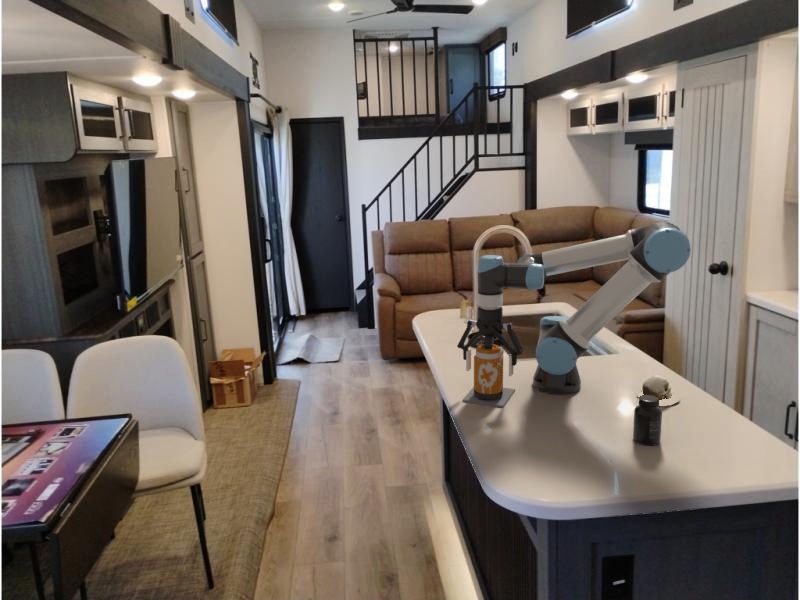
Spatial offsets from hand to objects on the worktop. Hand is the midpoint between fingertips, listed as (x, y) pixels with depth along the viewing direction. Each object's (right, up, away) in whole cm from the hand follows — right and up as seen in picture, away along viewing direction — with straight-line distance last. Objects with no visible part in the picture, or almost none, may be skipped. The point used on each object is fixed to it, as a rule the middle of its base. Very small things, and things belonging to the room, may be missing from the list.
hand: (489, 372), depth 196 cm
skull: (+51, -8, -3) cm, 52 cm away
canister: (0, -7, +2) cm, 8 cm away
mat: (0, -8, +2) cm, 8 cm away
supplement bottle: (+37, -15, -29) cm, 50 cm away
